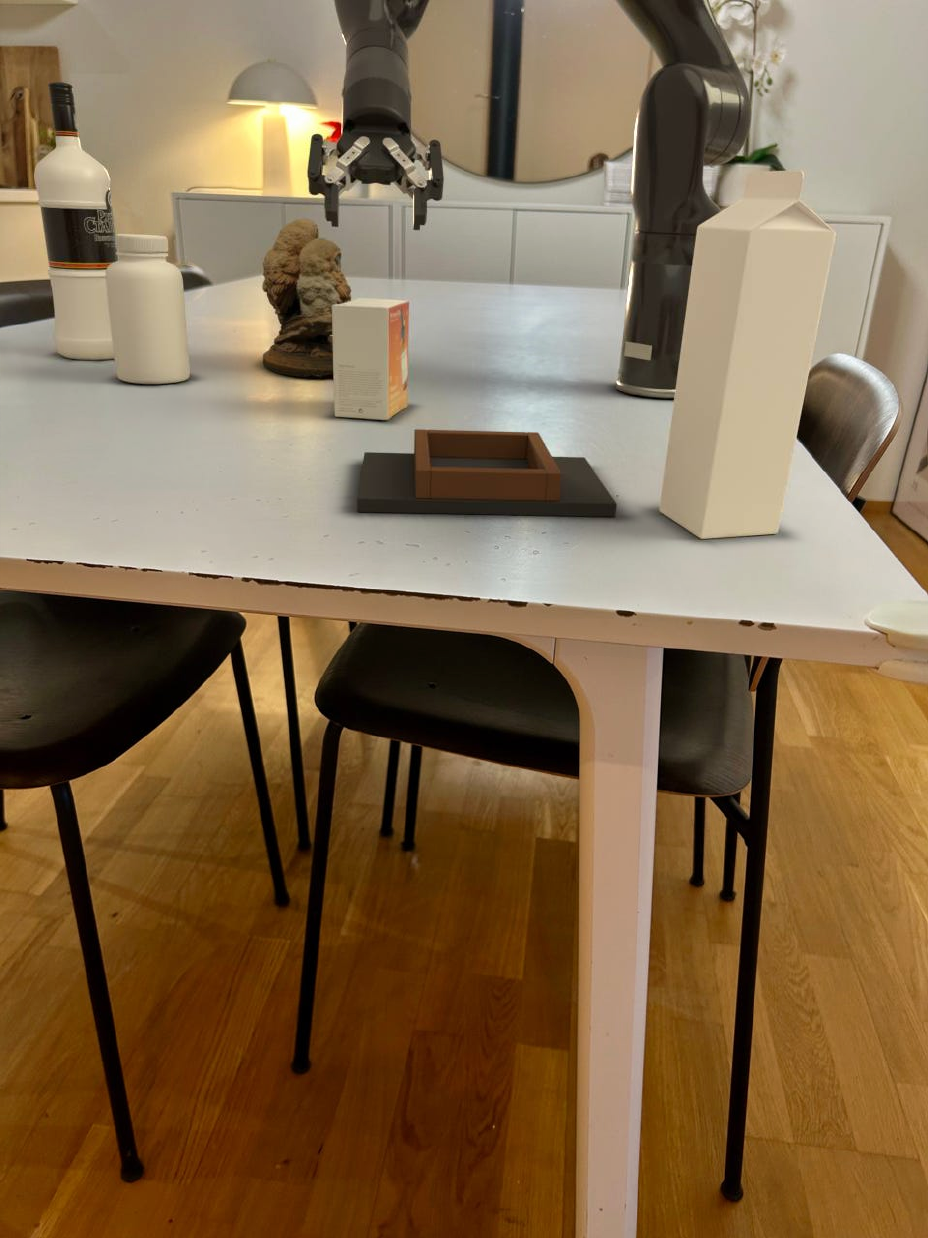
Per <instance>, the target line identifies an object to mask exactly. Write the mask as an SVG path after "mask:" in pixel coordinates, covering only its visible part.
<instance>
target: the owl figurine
mask: <svg viewBox="0 0 928 1238" xmlns="http://www.w3.org/2000/svg"><path fill="white" fill-rule="evenodd" d="M319 233H320V232H319V228H318V224H317V223H316V222H315V221H313V220H311V219H309V218H300V219H294V220H292V221H291V222H289V223H286V225H284V226H283V227H282V228H281V229H280V230H279V231H278V234H277V236H276V239H275V241H274V243H273V245H272V248H270V249H268V250H267V252H266V253H265V256H264V258H263V262H262V267H263V271H262V276H263V277H264V280H263V282H262V285H261V286H262V287H261V288H262V291H263V292H264V293H266V298H267V300H268V302H269V305H271V306H272V307H273V310H274V315H276V316H277V320H278V323H279V325H280V329H279V331H278V335H277V336H276V337H274V339H273V340H274V341H273V344H272V345H270V347H269V349H268V350H267V351H265V352H264V353H263V354H262V366H264V368H265V369H268V370H269V371H272V372H273V373H276V374H281V375H286V376H291V377H299V378H300V377H301V378H308V377H310V376H314V378H317V377H318V378H321V377H322V376H328V375H329V376H330V375H331V376H332V375H333V332H332V305H335V304H342V303H346V302H349V301H352V294H351V292H352V289H351V286H350V285H349V284H348V280H347V279H346V276H345V274H344V273H343V272H342V252H341V250H342V249H341V247H339V245H337V244H336V243H335V242H333V241H332V240H329V239H327V238H325V237H320V236H319Z"/></svg>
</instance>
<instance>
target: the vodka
mask: <svg viewBox="0 0 928 1238" xmlns="http://www.w3.org/2000/svg"><path fill="white" fill-rule="evenodd" d="M47 86H48V93H49V100H50V106H51V114H52V122H53V129H54V136H55V148H54V149H53V150H52V151H50V152H49V153H48V154H47V155H45V156H44V157H43V158H42V159H40V160H39V161H38V162H37V164H36V166H35V167H34V173H33V180H34V184H35V189H36V192H37V196H38V199H37V203H38V205H39V206H40V212H41V213H40V214H41V219H42V220H41V221H42V227H43V232H44V233H43V234H44V241H45V249H46V255H47V260H48V267H49V269H48V271H47V275H48V276H49V280H50V287H51V291H52V298H53V308H54V334H53V342H54V348H55V350H56V352H57V354H59V355H60V356H61V357H63V358H65V359H70V360H77V361H78V360H80V361H106V360H115V359H114V350H113V341H112V332H111V323H110V314H109V305H108V296H107V287H106V277H105V275H106V270H107V268H108V266H109V265H110V264H112V263H114V262H116V261H119V255H116V252H118V249H116V243H115V235H116V229H115V219H114V211H113V203H112V202H113V201H112V195H111V178H110V175H109V172H108V170H107V169H106V168H105V166H104V165H103V164H101V162H99V161H98V160H96V158H94V157H93V156H91V155H90V154H89V153H87V152H86V151H85V150H84V149H83V148H82V146H81V140H80V137H79V129H78V121H77V113H76V112H77V111H76V107H75V103H76V102H75V96H74V90H73V88H74V87H73V85H72V84H70V83H67V82H63V81H53V82H49V83H48V84H47Z"/></svg>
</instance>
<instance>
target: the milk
mask: <svg viewBox="0 0 928 1238" xmlns="http://www.w3.org/2000/svg"><path fill="white" fill-rule="evenodd" d="M804 173H805V172H804V171H803V170H766V171H748V172H747V173H746V175H745V178H744V184H743V189H742V195H741V199H739V200H737V201H736V202H734V203H732V204H731V205H729V206H728V207H725V208H724V209H723V210H721V212H720V213H718V214H716V215H715V216H713V217H712V218H710V219H708V220H707V221H705V222H704V223H702V224H700V225H699V226H698V228H697V234H696V242H695V249H694V257H693V264H692V271H691V279H690V286H689V294H688V301H687V308H686V316H685V323H684V331H683V338H682V345H681V353H680V360H679V368H678V375H677V382H676V390H675V397H674V398H673V406H672V413H671V419H670V421H671V422H670V427H669V436H668V443H667V450H666V458H665V465H664V470H663V471H664V472H663V479H662V487H661V493H660V494H661V495H660V501H659V509H658V511H659V512H660V513H661V514H663V515H664V516H666V517H667V518H669V519H670V520H672V521H674V522H675V523H676V524H677V525H678V526H681V527H682V528H684V529H685V530H687V531H688V532H690V533H691V534H693V535H694V536H696V537H697V538H699V539H701V540H704V539H721V538H733V537H747V536H749V537H750V536H759V535H760V536H761V535H776V534H778V532H779V528H780V525H781V524H780V523H781V518H782V512H783V509H784V503H785V498H786V492H787V487H788V482H789V477H790V472H791V467H792V462H793V458H794V451H795V446H796V441H797V436H798V431H799V426H800V422H801V421H800V420H801V416H802V410H803V405H804V400H805V395H806V391H807V385H808V380H809V374H810V369H811V364H812V360H813V355H814V350H815V344H816V340H817V339H816V338H817V334H818V329H819V323H820V319H821V314H822V308H823V303H824V298H825V294H826V293H825V292H826V288H827V282H828V279H829V278H828V277H829V273H830V267H831V262H832V256H833V251H834V247H835V242H836V236H837V233H836V231H835V230H833V228H831V226H829V224H827V223H826V222H825V221H824V220H823V219H822V218H820V217H819V216H818V214H817V213H815V212H814V211H813V210H812V209H811V208H810V207H809V206H808V205H807V204H806V203H805V202H804V201H802V199H801V197H802V192H803V186H804V180H805V174H804Z"/></svg>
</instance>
